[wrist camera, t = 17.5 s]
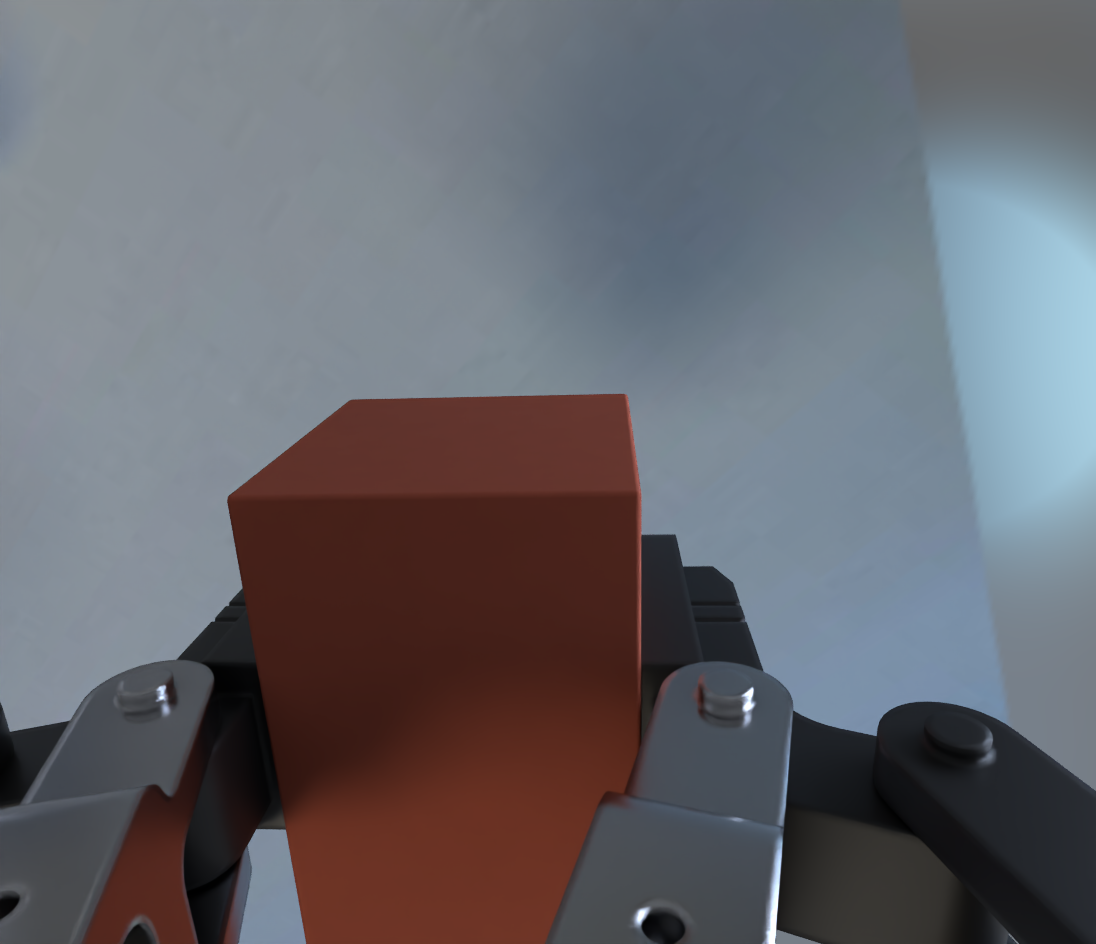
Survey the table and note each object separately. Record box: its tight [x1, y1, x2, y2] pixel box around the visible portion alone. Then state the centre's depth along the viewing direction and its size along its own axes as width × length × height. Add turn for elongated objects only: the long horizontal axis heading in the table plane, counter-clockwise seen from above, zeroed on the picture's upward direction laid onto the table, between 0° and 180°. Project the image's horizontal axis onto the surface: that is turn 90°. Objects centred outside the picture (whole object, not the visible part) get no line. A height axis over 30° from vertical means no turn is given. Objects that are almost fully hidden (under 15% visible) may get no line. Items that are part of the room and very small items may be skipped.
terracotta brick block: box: [227, 394, 641, 944], centre depth 10 cm, size 6×4×4 cm, turn 2°
